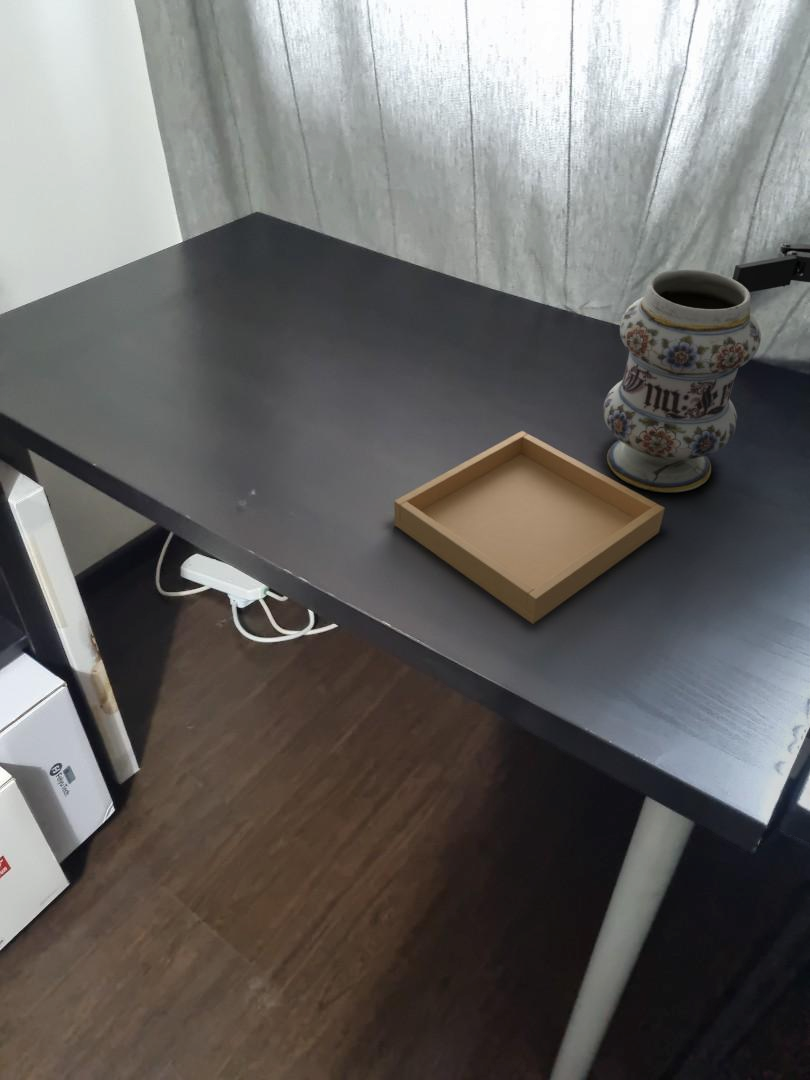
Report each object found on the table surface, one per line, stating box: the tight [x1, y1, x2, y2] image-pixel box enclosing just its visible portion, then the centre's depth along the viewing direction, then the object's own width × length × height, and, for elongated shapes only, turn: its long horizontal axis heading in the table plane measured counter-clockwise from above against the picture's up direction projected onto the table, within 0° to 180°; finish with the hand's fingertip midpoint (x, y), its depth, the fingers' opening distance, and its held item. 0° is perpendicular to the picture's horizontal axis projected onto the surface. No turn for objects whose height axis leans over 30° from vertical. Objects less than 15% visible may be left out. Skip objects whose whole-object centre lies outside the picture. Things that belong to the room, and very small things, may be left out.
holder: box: [393, 430, 665, 625], centre depth 73 cm, size 17×17×3 cm
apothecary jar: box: [602, 268, 762, 494], centre depth 75 cm, size 12×12×18 cm
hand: (781, 309), depth 74 cm, fingers open, 13 cm apart
